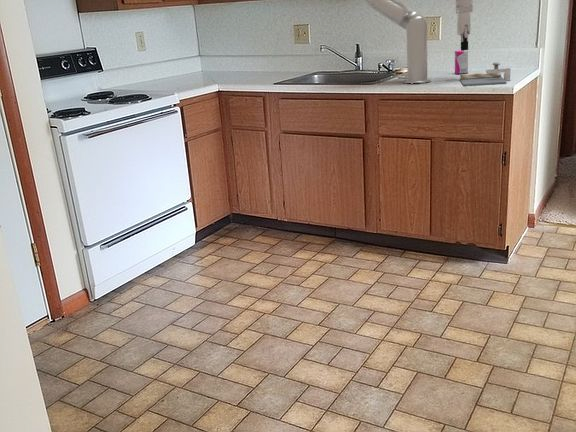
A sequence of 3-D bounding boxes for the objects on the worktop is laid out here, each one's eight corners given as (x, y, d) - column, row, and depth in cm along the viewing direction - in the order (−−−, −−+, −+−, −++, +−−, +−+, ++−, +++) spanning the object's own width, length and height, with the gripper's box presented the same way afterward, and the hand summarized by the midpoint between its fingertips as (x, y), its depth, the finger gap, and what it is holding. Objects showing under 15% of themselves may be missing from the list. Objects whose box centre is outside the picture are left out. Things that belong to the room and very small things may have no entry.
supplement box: (466, 72, 318) (466, 49, 315) (468, 74, 313) (468, 50, 309) (454, 73, 319) (454, 50, 315) (456, 74, 314) (456, 51, 310)
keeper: (486, 82, 283) (486, 70, 281) (486, 81, 285) (486, 69, 283) (510, 80, 281) (510, 68, 279) (509, 79, 283) (509, 68, 281)
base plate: (463, 86, 277) (463, 84, 277) (460, 80, 295) (460, 78, 295) (506, 83, 273) (506, 81, 273) (500, 77, 291) (500, 76, 291)
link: (500, 75, 290) (500, 62, 288) (501, 76, 286) (501, 63, 284) (460, 77, 294) (460, 64, 292) (460, 79, 290) (461, 65, 288)
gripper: (453, 10, 294) (454, 49, 300) (458, 10, 280) (458, 52, 286) (470, 8, 293) (470, 48, 299) (475, 9, 279) (475, 50, 285)
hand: (464, 50), depth 292 cm, fingers closed
